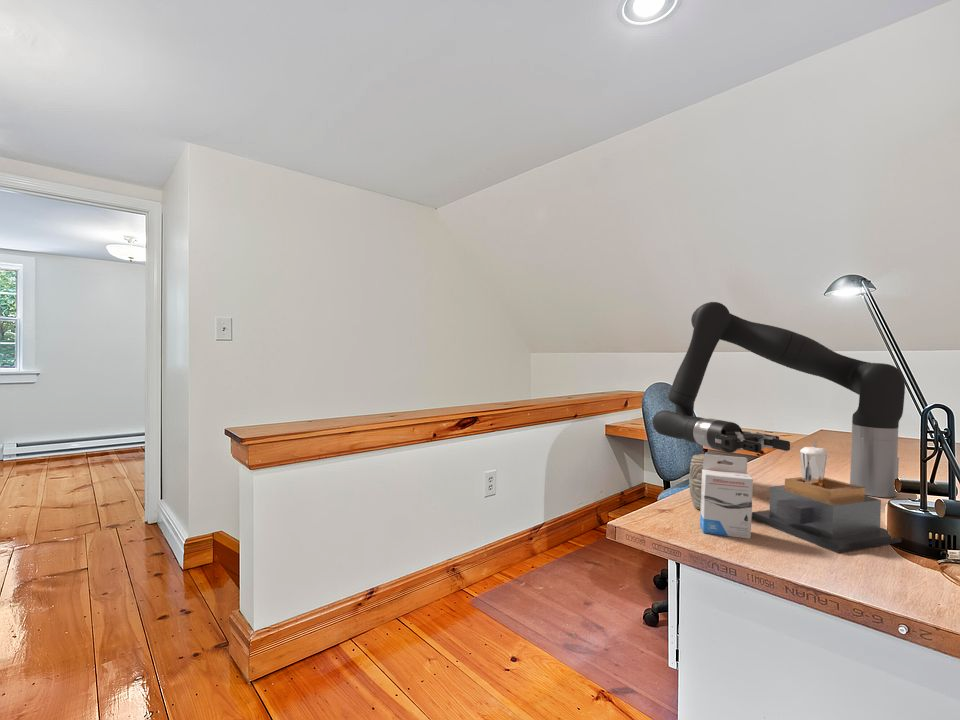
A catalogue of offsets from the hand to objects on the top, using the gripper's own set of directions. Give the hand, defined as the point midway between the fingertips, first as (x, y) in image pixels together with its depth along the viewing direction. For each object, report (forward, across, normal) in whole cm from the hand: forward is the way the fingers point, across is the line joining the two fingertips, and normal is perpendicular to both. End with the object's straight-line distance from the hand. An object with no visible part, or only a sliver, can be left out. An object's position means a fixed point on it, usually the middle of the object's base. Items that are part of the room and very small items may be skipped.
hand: (774, 447), depth 108 cm
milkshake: (+10, -2, +7) cm, 12 cm away
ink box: (+6, -20, +15) cm, 26 cm away
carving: (-6, -13, +15) cm, 21 cm away
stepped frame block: (+11, 0, +14) cm, 18 cm away
